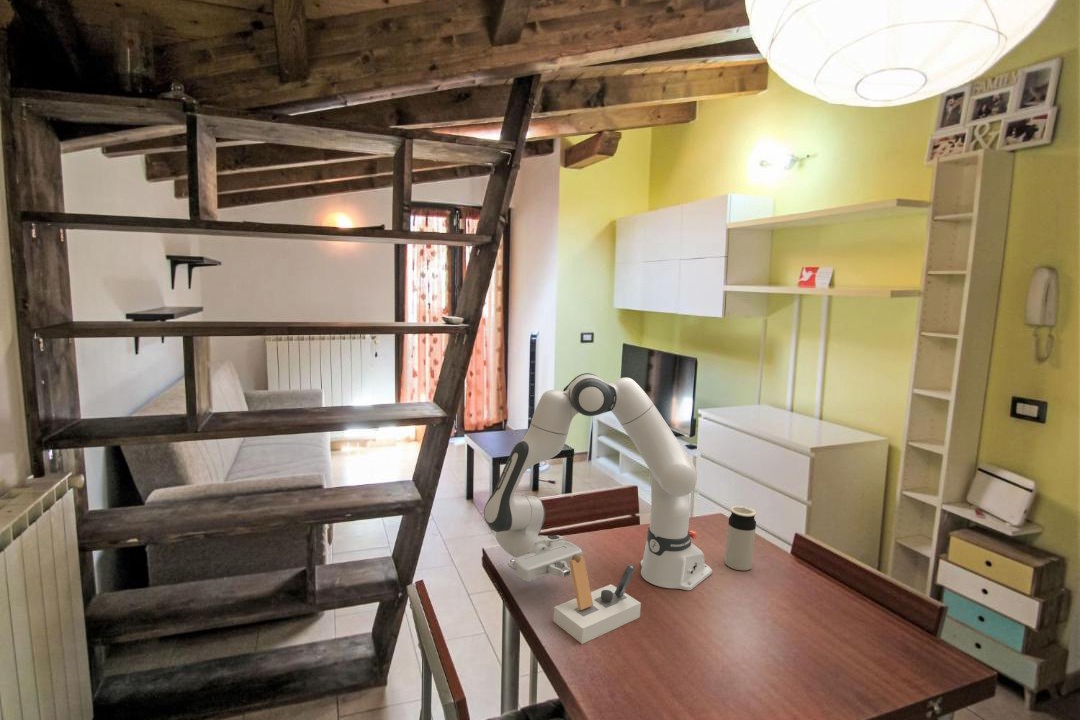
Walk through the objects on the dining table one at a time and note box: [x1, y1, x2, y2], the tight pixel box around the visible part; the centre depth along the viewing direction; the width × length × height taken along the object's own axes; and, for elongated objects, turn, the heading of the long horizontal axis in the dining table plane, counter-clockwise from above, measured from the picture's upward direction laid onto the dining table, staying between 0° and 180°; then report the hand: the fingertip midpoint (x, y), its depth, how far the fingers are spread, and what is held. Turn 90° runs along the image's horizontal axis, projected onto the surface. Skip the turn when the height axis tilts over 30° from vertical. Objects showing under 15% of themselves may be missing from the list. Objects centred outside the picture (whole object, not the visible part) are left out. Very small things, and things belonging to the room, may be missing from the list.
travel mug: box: [724, 505, 757, 572], centre depth 180 cm, size 8×8×18 cm
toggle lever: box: [615, 564, 636, 598], centre depth 150 cm, size 2×2×10 cm
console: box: [553, 583, 642, 645], centre depth 149 cm, size 20×11×4 cm, turn 127°
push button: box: [601, 590, 613, 601], centre depth 150 cm, size 3×3×1 cm
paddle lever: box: [569, 554, 593, 610], centre depth 147 cm, size 4×2×13 cm, turn 127°
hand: (567, 573), depth 152 cm, fingers closed
